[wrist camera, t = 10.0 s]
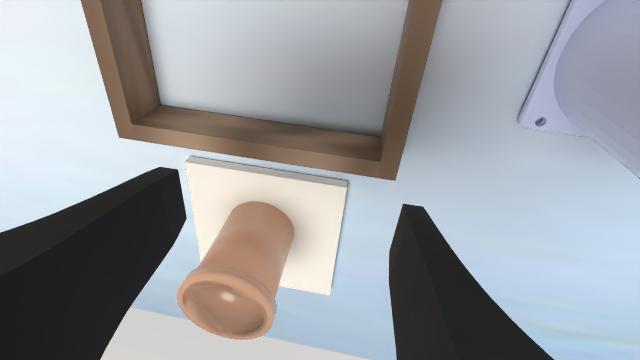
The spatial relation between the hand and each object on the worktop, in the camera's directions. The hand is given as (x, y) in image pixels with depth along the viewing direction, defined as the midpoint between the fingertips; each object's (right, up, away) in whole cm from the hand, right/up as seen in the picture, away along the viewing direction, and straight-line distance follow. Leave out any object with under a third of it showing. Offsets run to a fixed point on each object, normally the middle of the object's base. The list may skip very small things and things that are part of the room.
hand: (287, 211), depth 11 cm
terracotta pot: (-3, -3, +14) cm, 15 cm away
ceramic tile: (-3, -3, +15) cm, 15 cm away
